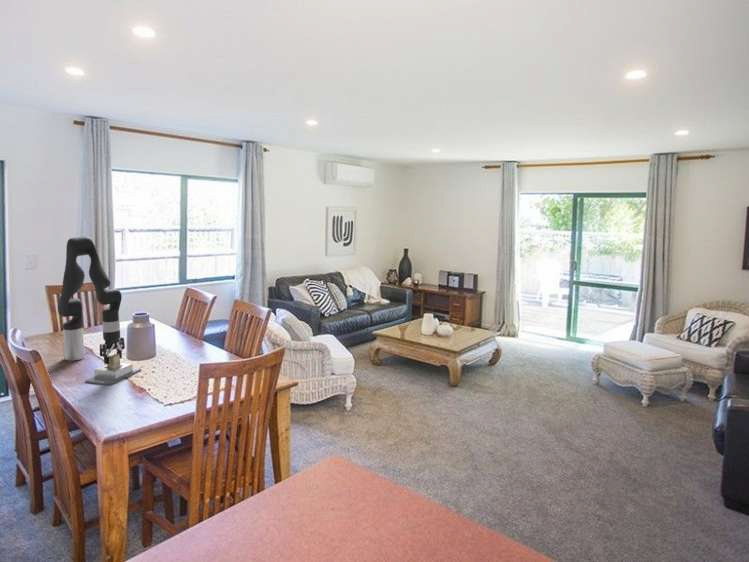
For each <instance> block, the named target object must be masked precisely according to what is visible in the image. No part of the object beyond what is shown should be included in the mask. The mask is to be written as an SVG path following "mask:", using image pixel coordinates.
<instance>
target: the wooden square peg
mask: <svg viewBox="0 0 749 562" xmlns="http://www.w3.org/2000/svg"><path fill="white" fill-rule="evenodd" d="M108 357H109V364H107V368H108V369H116V368H119V367H120V363H121V359H120V354H117V353H112V352H111V353H110V354H109V356H108Z"/></svg>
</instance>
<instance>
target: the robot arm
mask: <svg viewBox="0 0 749 562" xmlns="http://www.w3.org/2000/svg"><path fill="white" fill-rule="evenodd" d="M65 253H66V254H65V255H66V257H65V267H64V273H63V277H62V285H61V286H62V288H61V292H60V293H61V294H60V297H59V300H58V303H57V304H58V305H57V312H58V314H59V316H60V317H62V318H66V317H72V318H71V319H69V320H67V321H66V322H64V323H63V324H62V334H63V342H62V352H63V353H62V354H63V355H62V356H63V360H65V361H69V362H71V361H72V362H73V361H79V360H82V359H85V356H86V355H85V344H84V343H85V342H84V341H85V339H84V328H83V303H82V300H81V299H80V298H72V297H73V296H74V295H75V294H77V293H78V292H79V291H80V289H81V288H82V287H83V285H84V283H85V282H84V281H85V271H84V269H83V268H82V266H80V265H79V263H78V261H77V260H78V257H81V256H89V258H90V264H89V268H88V275H89V279H90V281H91V282H92V284H93V286H94V289H95V290H94V291H95V293H96V294H95V295H96V300H97V302H98V303H99V304H100V305H103V306H106V305H109V306H108V307H107V308H104V309H103V310H102V312H101V314H102V339H103V341H104V343H103V344H102V343H101V344H99V356H100V357H102V358H103V362H104V365H105V364H109V357H108V356H109V355H110V354H112V352H113V351H114V350H116V354H120V360H121V359H122V358H123V357H122V356H123V351H124V350H125V348H126V346H125V338H124V337H121V325H120V318H119V317H120V316H119V314H120V313H119V311H120V306H121V303H122V297H123V296H122V295H123V294H122V292H121V291H120V289H117V288H111V289H107V288H108V287H110V286H111V281H110V279H109V277H108V275H107V273H106V271H105V269H104V267H103V265H102V263H101V260H100V259H101V258H100V256H99V253H98V251H97V247H96V246H95V243H94V241H93V240H92V238H91V237H90V236H79V237H78V236H76V237H70V238H69V239H68V240H67V242H66V252H65Z"/></svg>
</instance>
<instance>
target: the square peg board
mask: <svg viewBox="0 0 749 562" xmlns="http://www.w3.org/2000/svg"><path fill="white" fill-rule="evenodd" d="M141 371H142V368H139V367H134V366H133V363H127V362H125V363H124V362H120V367H119V368H116V369H108V368H107V364H105V363H104V364H103V365H101V366H99V367H96V368H93V374H94V376H91V377H90V378H87V379H85V380H84V383H87V384H97V385H104V386H112V385H114V384H116V383H118V382H120V381H122V380H124V379H126V378H128V377H131V376H132V375H134V374H137V373H140V372H141ZM130 375H131V376H130Z"/></svg>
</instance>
